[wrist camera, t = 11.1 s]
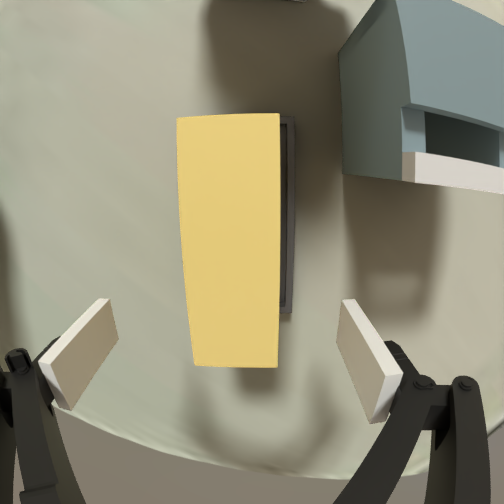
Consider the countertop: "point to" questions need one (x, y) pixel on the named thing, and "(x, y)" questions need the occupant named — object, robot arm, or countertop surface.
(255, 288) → the yellow tall slab
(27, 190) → the countertop surface
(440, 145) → the dispenser
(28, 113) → the countertop surface
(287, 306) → the tray
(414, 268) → the countertop surface
